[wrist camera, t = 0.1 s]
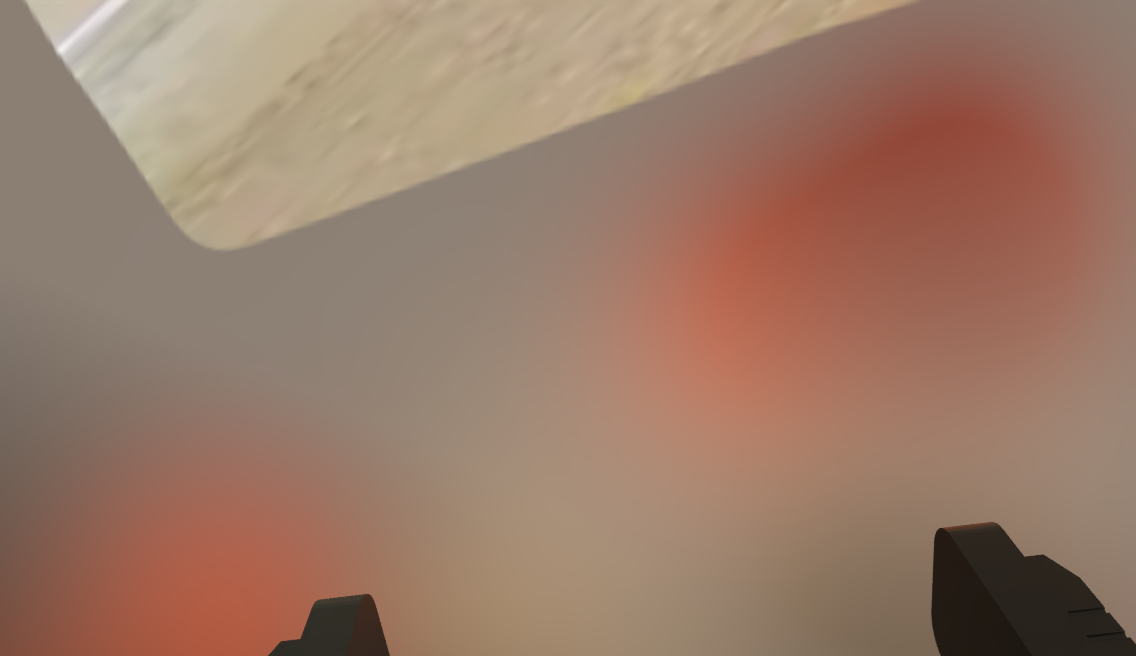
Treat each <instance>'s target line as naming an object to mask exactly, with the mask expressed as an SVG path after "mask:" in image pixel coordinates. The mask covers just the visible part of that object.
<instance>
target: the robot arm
mask: <svg viewBox="0 0 1136 656" xmlns="http://www.w3.org/2000/svg"><path fill="white" fill-rule="evenodd" d="M931 616H932V626H933V631H934V636H935V640H936V644H937V647H938V650H939V653H940V655H941V656H1136V644H1135V643H1134V642H1133V640H1132V639H1131V638H1127V637H1126V636H1125V631H1124V630H1123V629H1122V627H1121V626H1120V625H1119V624H1118V623H1117V622H1116V620H1115V619H1114V618H1113V617H1112V615H1111V614H1110V613H1106V612H1105V608H1104V606H1103V605H1102V604H1101V602H1100V601H1099V600H1098V599H1097V598H1096V596H1095V595H1094V594H1093V593H1092V592H1091V591H1090V589H1089V588H1088V587H1087V586H1086V584H1085V583H1084V582H1083V581H1082V580H1081V578H1079V577H1078V576H1076V575H1075V574H1073V573H1072V572H1070V571H1068V570H1067V569H1065V568H1064V567H1062V566H1060V565H1059V564H1057V563H1056V562H1054V561H1053V560H1051V559H1050V558H1048V557H1046V556H1045V555H1035V556H1027V557H1024V556H1023V554H1022V553H1021V552H1020V550H1019V549H1018V548H1017V547H1016V545H1015V544H1014V543H1013V541H1012V540H1011V539H1010V538H1009V536H1008V535H1007V534H1006V533H1005V531H1004V530H1003V529H1002V528H1001V527H1000V525H998V524H997V523H994V522H988V523H979V524H971V525H963V526H954V527H945V528H939V529H938V530H937V532H936V534H935V538H934V559H933V583H932V609H931ZM269 656H390V655H389V651H388V648H387V644H386V640H385V637H384V633H383V630H382V626H381V622H380V619H379V615H378V612H377V608H376V605H375V602H374V600H373V598H372V596H371V595H369V594H363V595H355V596H347V597H337V598H330V599H322V600H317V601H316V602H315V603H314V605H313V607H312V609H311V612H310V615H309V617H308V620H307V623H306V626H305V628H304V631H303V634H302V637H301V639H298V640H289V641H281V642H280V643H279V644H278V645H277V646H276V648H275V649H274V650H273V651H272V652H271V653H270V654H269Z"/></svg>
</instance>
